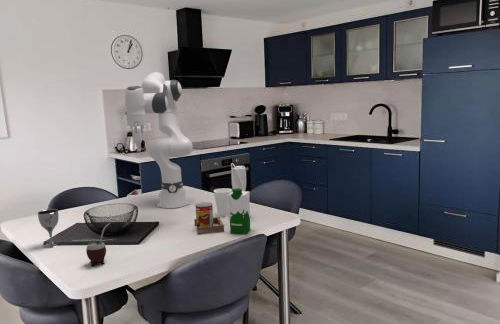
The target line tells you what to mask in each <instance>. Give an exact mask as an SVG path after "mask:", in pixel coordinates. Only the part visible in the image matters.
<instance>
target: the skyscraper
mask: <svg viewBox="0 0 500 324" xmlns="http://www.w3.org/2000/svg"><path fill="white" fill-rule="evenodd" d="M230 167H231V186H232V188H231V189H232V190H233V189H242V191H246V188H247V169H246V167H245V165H235V164H234V163H230Z"/></svg>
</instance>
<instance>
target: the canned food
mask: <svg viewBox="0 0 500 324" xmlns="http://www.w3.org/2000/svg"><path fill="white" fill-rule="evenodd" d="M213 210H214V209H213V203H212V202H210V201H201V202H197V203H195V216H196V217H195V219H196V223H197V226H196V228H197V227H205V226H215V224H213V217H214V212H213Z"/></svg>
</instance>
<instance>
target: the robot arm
mask: <svg viewBox="0 0 500 324" xmlns="http://www.w3.org/2000/svg"><path fill="white" fill-rule="evenodd" d="M182 93H183V88H182V85H181V83H180V82H179V80H176V79H171V80H166V79H165V76H164V75H163V74H162V72H159V71H154V72H153V71H152V72H151V73H149V74H148V75H147V76H145V78H144V79H143V81H142V83H141V86H139V85H133V86H128V87H126V88H125V93H124V94H125V95H124V98H125V99H124V102H125V103H124V104H125V108H126V109H125V110H126V126H128V127H129V129H130V130H131V133H132V143H133V144H135V146H136V152H141V151H142V142H143V138H144V129H145V126H147V125H148V124H147V114H158V129H159V131H160V133H162V134H164V135H167V136H169V137H167V138H166V137H165V138H155V139H151V140H149V141H148V142H147V143H146V146H145V150H146V154H147V156H149V157H150V158H151V159H153V160H154V161H155V162H156V163H157V164H158V166H159V168H160V173H161V190H160V192H159V193H158V196H159V202H158V203H157V204H156V208H163V209H176V208H182V207H185V206H188V205H190V204H191V203H190V201H189V200H188V199H187V193H186V192H187V191H186V189H184V188H183V187H184V183H183V180H182V168H181V166H180V165H178V164H177V163H174V162H172V161H170V159H171V158H181V157H182V158H183V157H187V156H190V155H191V154H192V152H193V148H194V147H193V143H192V141H191V139H190V138H188V137H187V136H185V135H184V134H183V133H182V130H180V125H179V124H180V123H179V113H178V107H177V104H176V102H178V101H179V99H180V97H181V96H182Z"/></svg>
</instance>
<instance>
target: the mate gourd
mask: <svg viewBox="0 0 500 324" xmlns="http://www.w3.org/2000/svg"><path fill="white" fill-rule="evenodd" d="M110 223H111V222H109V223H107V224H106V225H105V226H104V227H103V228H102V230H101V235H100V237H99V240H96V241H92V242H91V241H90V242H89V243H88V245H87V246H86V250H85V251H86V256H87V258H88V260H90V266H91V267H95V266H97V265H105V264H106V263H105V257H106V254H107V248H106V244H105V243H104V242H103V241H102V239H103V236H104V233H105V230H106V228H107V227H108V226H109V225H110Z"/></svg>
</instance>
